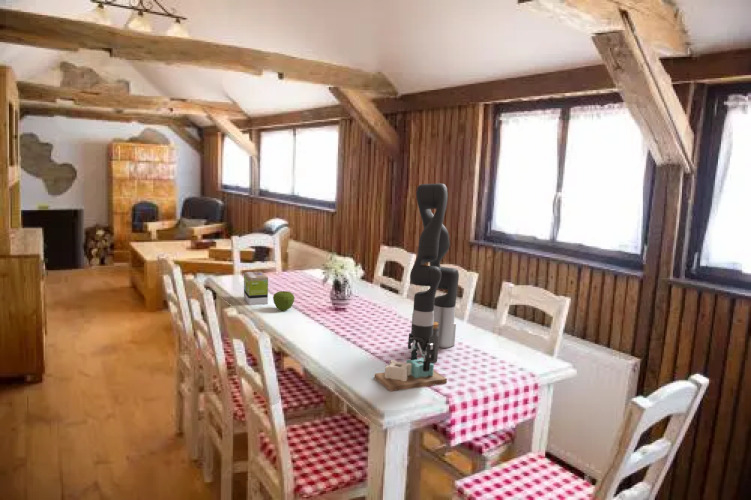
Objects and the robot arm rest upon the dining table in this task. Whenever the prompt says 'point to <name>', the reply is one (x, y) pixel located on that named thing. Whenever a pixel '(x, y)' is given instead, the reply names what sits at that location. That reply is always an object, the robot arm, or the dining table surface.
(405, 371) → the cream gear
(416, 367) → the teal gear
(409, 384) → the board
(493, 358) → the dining table surface
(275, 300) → the apple
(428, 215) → the robot arm
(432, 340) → the bottle
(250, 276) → the tea box
